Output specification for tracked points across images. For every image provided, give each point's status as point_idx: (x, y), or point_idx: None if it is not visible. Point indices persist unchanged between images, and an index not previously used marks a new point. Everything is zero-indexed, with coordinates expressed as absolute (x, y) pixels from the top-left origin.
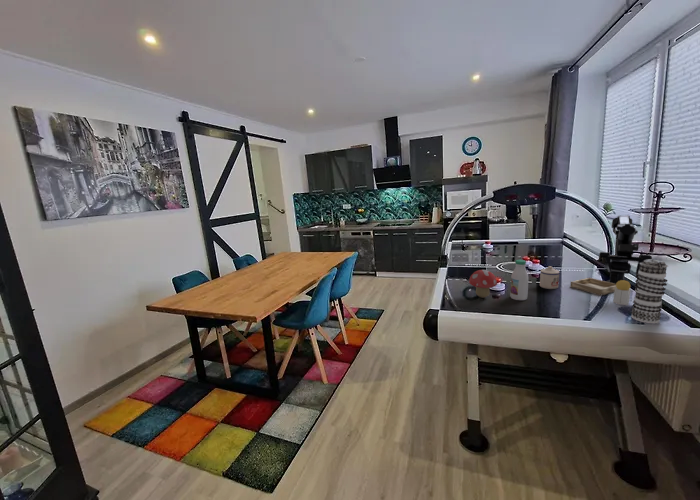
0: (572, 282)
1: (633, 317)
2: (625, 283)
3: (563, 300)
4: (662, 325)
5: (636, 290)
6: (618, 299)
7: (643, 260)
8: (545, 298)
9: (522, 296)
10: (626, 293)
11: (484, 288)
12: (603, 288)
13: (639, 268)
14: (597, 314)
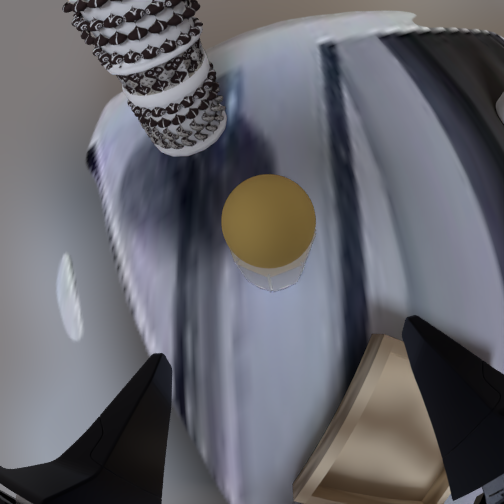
0: None
1: (220, 104)
2: (251, 177)
3: (450, 156)
4: None
5: (197, 19)
6: None
7: (16, 477)
8: (486, 149)
9: (501, 95)
10: None
11: None
12: (377, 373)
13: (110, 406)
14: (319, 82)
